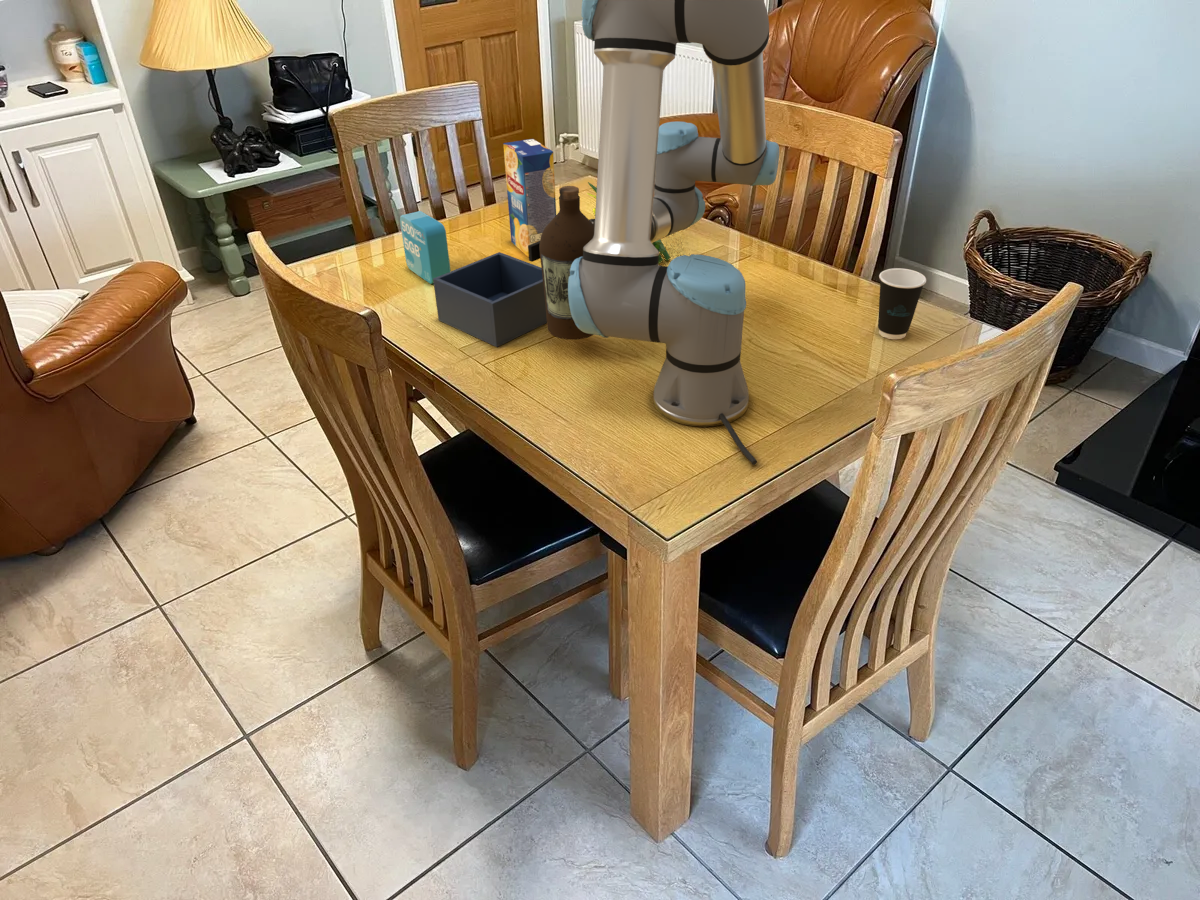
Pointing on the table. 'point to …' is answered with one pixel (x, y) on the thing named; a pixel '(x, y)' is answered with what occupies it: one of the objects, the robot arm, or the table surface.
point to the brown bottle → (563, 261)
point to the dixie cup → (898, 301)
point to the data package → (425, 245)
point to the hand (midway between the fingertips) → (553, 262)
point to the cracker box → (529, 190)
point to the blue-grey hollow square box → (492, 298)
